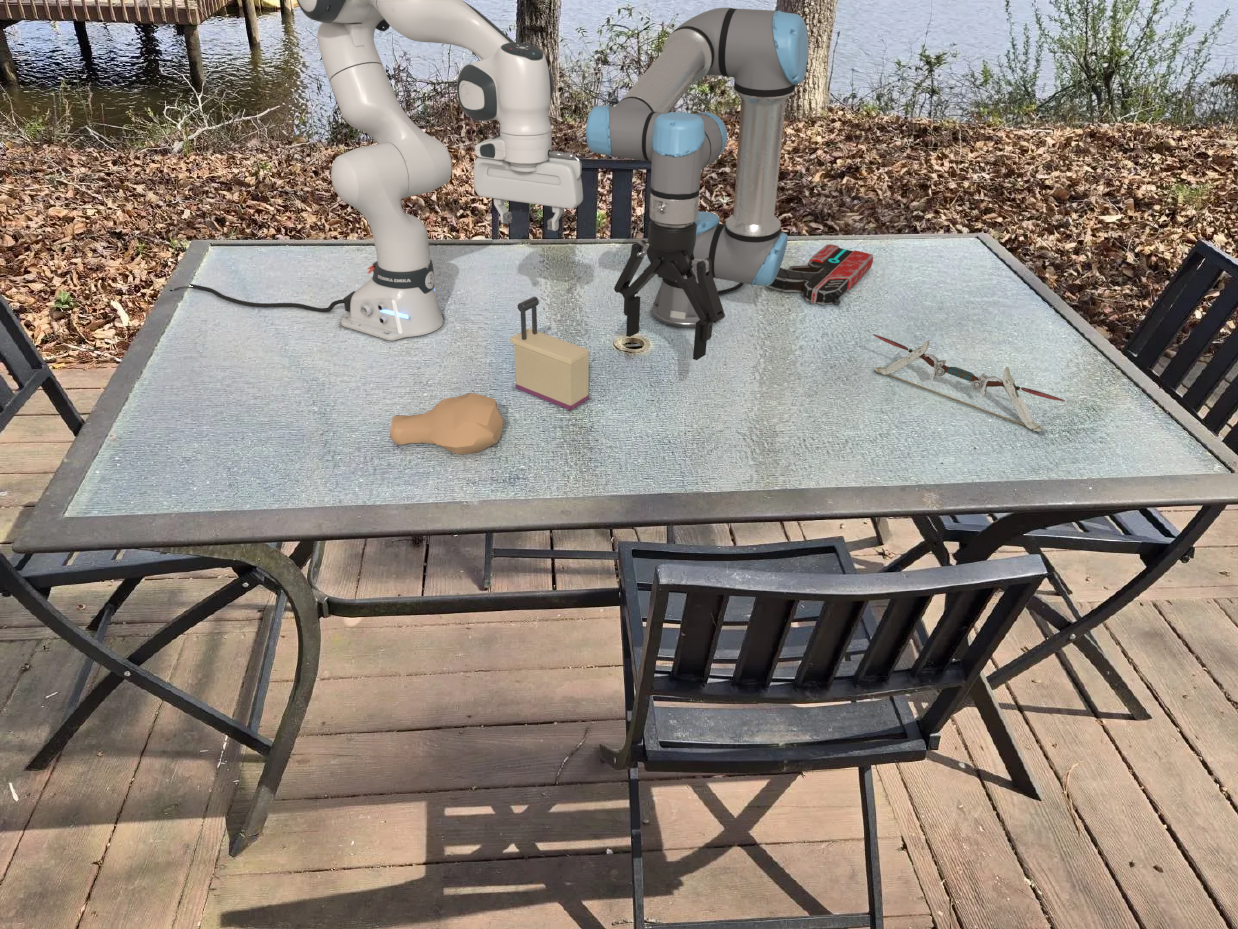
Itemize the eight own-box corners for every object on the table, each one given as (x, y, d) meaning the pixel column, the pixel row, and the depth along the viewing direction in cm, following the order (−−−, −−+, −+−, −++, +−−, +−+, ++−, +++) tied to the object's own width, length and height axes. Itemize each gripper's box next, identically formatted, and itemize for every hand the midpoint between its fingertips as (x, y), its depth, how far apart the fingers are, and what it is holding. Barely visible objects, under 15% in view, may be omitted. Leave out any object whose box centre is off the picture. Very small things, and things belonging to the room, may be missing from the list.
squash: (504, 461, 151) (494, 421, 145) (391, 469, 152) (376, 431, 146) (510, 420, 159) (501, 381, 152) (403, 428, 160) (389, 390, 154)
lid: (510, 342, 167) (508, 300, 163) (529, 332, 171) (527, 292, 166) (570, 364, 160) (570, 322, 156) (588, 354, 164) (589, 312, 159)
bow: (1054, 434, 162) (1071, 386, 157) (1051, 438, 161) (1067, 390, 156) (868, 365, 184) (877, 321, 178) (864, 368, 183) (873, 324, 177)
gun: (761, 274, 213) (838, 293, 205) (807, 236, 235) (878, 252, 227) (759, 291, 216) (834, 311, 208) (805, 252, 238) (874, 269, 230)
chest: (516, 388, 172) (513, 344, 167) (534, 377, 176) (533, 334, 171) (570, 410, 166) (570, 365, 160) (588, 399, 169) (588, 354, 164)
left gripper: (588, 149, 151) (589, 228, 159) (484, 137, 157) (489, 214, 165) (573, 158, 146) (574, 239, 154) (466, 145, 152) (472, 223, 160)
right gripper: (594, 209, 139) (593, 331, 151) (729, 244, 127) (716, 375, 139) (623, 199, 145) (619, 318, 156) (755, 232, 132) (740, 359, 144)
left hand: (529, 226), depth 159 cm, fingers open, 8 cm apart
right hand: (665, 345), depth 148 cm, fingers open, 13 cm apart
